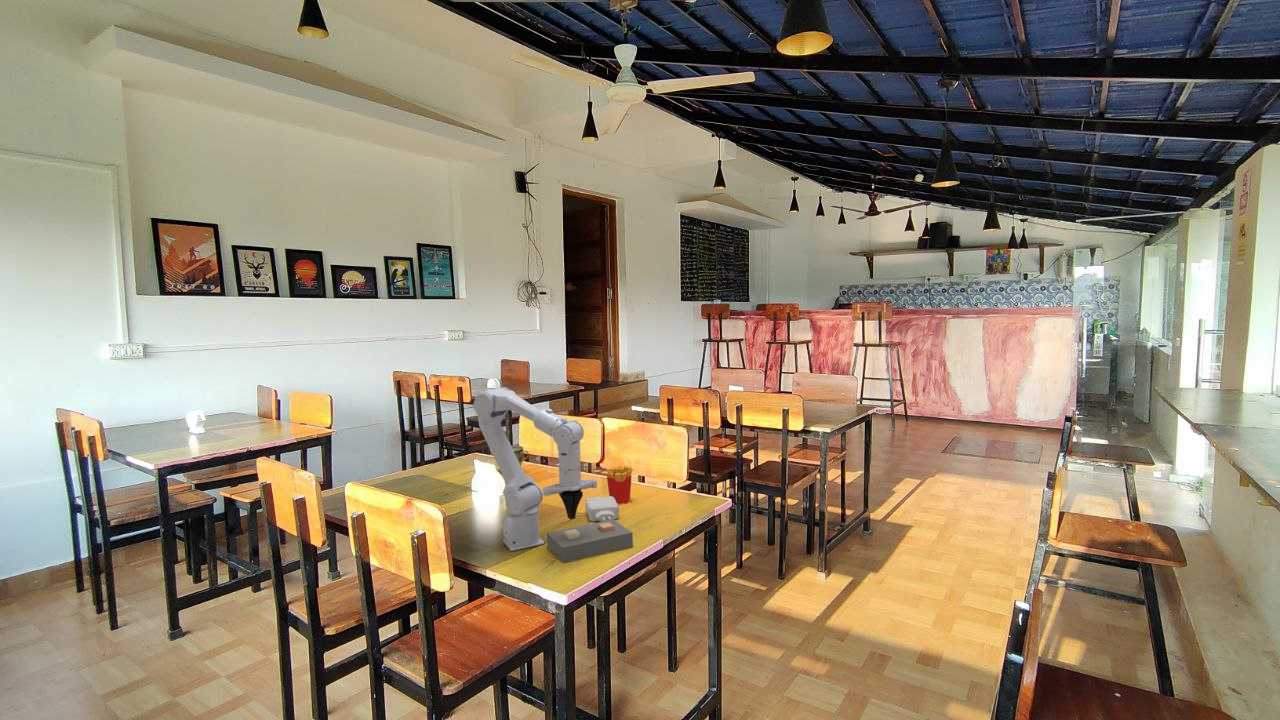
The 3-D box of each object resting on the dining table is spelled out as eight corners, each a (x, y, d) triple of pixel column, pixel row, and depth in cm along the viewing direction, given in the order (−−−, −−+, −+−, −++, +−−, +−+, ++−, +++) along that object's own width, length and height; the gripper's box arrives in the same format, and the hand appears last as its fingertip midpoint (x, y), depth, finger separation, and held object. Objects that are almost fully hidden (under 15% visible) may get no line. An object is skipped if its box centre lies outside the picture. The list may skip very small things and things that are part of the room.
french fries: (609, 505, 201) (608, 469, 200) (606, 501, 205) (605, 466, 204) (634, 502, 203) (633, 467, 202) (631, 498, 207) (630, 464, 206)
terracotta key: (603, 538, 166) (603, 528, 166) (598, 535, 169) (598, 524, 169) (614, 536, 168) (613, 525, 168) (609, 532, 171) (608, 522, 171)
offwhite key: (569, 546, 162) (568, 535, 162) (564, 542, 165) (564, 531, 164) (580, 543, 163) (579, 532, 163) (575, 539, 166) (575, 529, 166)
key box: (563, 562, 157) (562, 547, 156) (547, 547, 167) (546, 532, 167) (632, 546, 166) (632, 532, 166) (613, 532, 176) (613, 519, 176)
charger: (591, 529, 180) (585, 512, 195) (622, 526, 182) (614, 510, 197) (591, 513, 180) (585, 498, 195) (622, 510, 182) (614, 495, 196)
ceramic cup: (493, 475, 240) (492, 450, 239) (507, 469, 249) (505, 444, 248) (523, 477, 236) (522, 452, 235) (535, 471, 245) (534, 446, 244)
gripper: (548, 475, 155) (550, 527, 156) (601, 467, 162) (602, 517, 163) (539, 469, 161) (541, 519, 163) (590, 461, 168) (591, 509, 169)
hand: (571, 517), depth 163 cm, fingers closed
